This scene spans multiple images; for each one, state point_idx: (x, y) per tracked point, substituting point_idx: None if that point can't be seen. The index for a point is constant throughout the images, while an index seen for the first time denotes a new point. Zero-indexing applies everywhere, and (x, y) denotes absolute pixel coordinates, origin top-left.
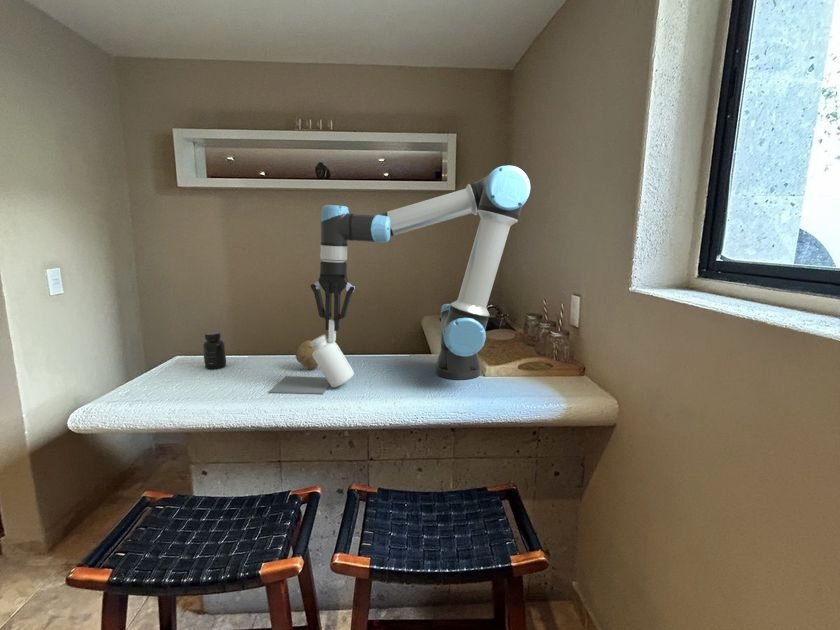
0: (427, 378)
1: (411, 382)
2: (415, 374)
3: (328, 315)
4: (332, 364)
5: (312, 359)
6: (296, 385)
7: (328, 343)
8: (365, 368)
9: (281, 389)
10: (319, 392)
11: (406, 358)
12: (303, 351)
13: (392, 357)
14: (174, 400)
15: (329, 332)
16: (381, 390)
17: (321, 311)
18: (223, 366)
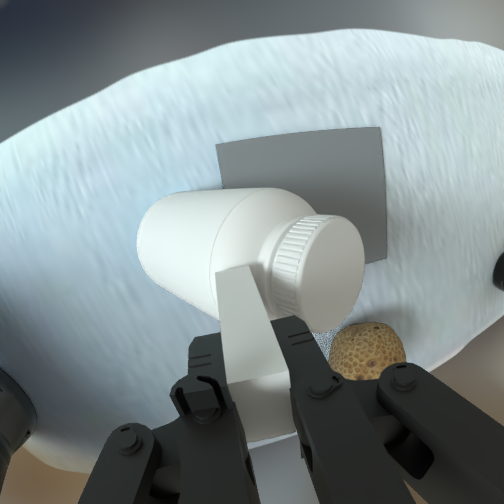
0: (13, 355)
1: (24, 321)
2: (50, 376)
3: (313, 414)
4: (197, 199)
5: (347, 337)
6: (330, 191)
7: (247, 261)
8: None
9: (355, 149)
10: (229, 147)
11: None
12: (385, 341)
13: None
14: (489, 82)
15: (254, 300)
16: (55, 238)
17: (424, 414)
18: (495, 269)
